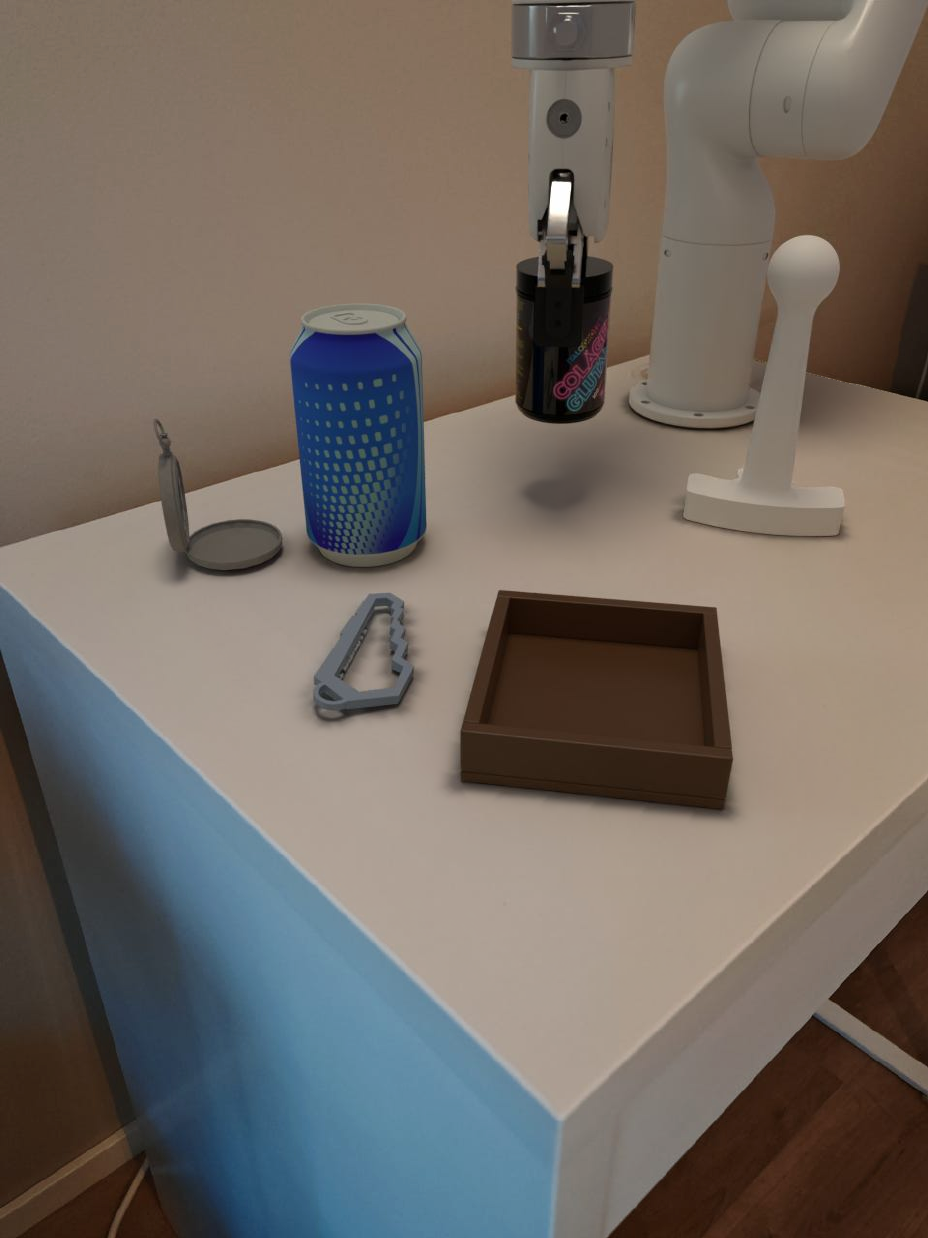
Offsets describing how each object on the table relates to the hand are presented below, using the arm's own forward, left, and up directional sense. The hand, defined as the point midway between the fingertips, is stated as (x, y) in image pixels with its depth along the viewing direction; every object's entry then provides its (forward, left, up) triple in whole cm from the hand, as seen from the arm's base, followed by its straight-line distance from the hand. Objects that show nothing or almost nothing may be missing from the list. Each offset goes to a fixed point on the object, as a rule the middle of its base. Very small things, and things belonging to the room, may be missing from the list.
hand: (562, 327), depth 69 cm
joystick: (+1, +16, -13) cm, 21 cm away
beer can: (+11, -12, -13) cm, 21 cm away
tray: (+28, +5, -13) cm, 31 cm away
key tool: (+25, -8, -13) cm, 29 cm away
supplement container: (0, 0, -6) cm, 6 cm away
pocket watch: (+14, -22, -13) cm, 29 cm away
